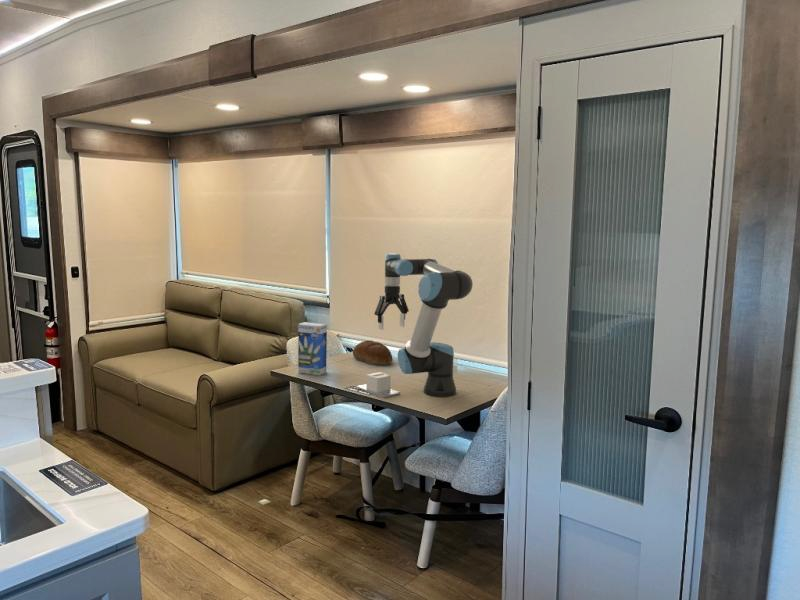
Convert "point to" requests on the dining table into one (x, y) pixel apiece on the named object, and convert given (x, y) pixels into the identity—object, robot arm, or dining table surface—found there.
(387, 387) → the white cardboard box
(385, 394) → the duct stub
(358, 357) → the bread
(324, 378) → the dining table surface
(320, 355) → the string lights box
